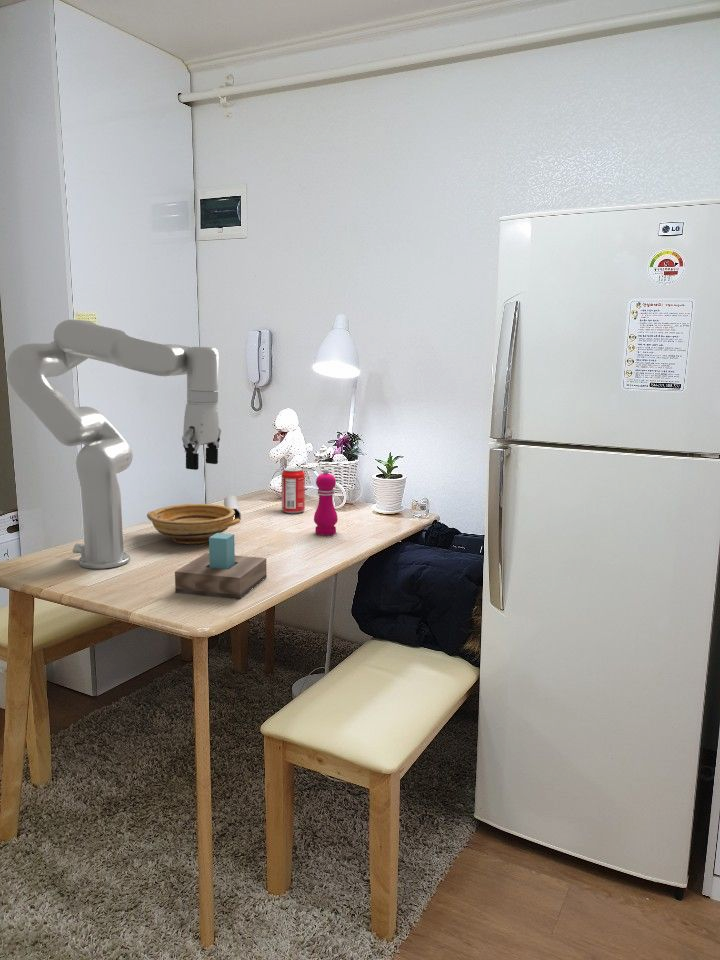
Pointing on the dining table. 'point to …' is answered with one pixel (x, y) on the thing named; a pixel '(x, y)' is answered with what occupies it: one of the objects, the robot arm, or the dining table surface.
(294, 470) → the soda can
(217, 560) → the peg
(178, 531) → the ceramic bowl
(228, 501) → the tube
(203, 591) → the bore block
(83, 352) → the robot arm
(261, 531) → the dining table surface
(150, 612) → the dining table surface
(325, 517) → the pepper mill
